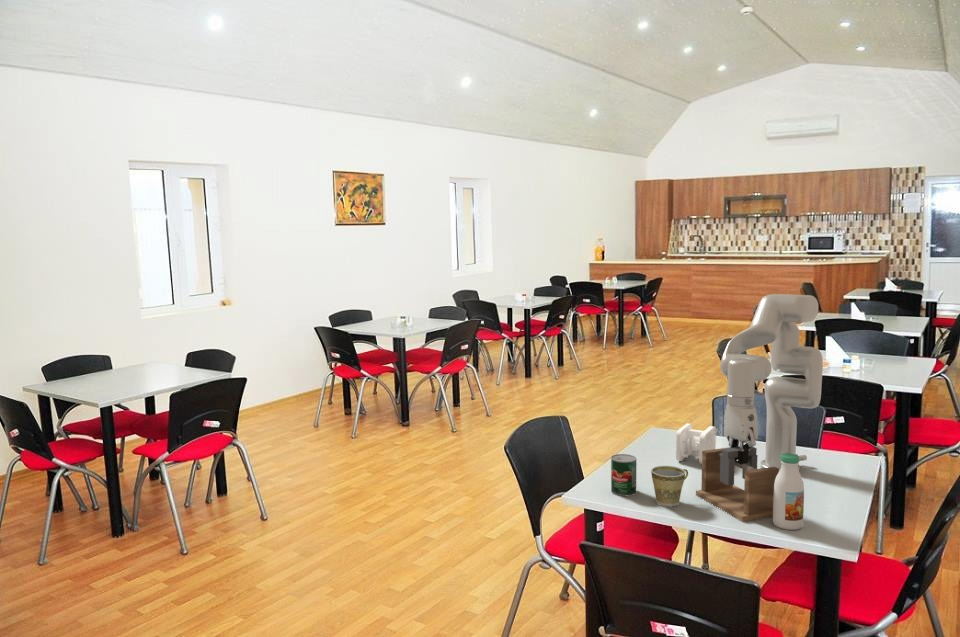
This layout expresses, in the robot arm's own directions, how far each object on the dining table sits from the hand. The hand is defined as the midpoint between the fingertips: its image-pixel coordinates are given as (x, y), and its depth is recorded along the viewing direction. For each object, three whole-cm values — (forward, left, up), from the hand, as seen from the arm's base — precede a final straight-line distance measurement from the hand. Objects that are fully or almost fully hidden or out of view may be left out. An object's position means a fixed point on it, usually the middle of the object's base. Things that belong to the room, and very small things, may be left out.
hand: (738, 461), depth 214 cm
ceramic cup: (+17, -9, -14) cm, 24 cm away
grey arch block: (0, 0, -6) cm, 6 cm away
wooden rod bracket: (0, 0, -14) cm, 14 cm away
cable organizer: (-14, -41, -14) cm, 45 cm away
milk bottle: (-3, +17, -14) cm, 22 cm away
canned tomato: (+26, -22, -14) cm, 37 cm away
